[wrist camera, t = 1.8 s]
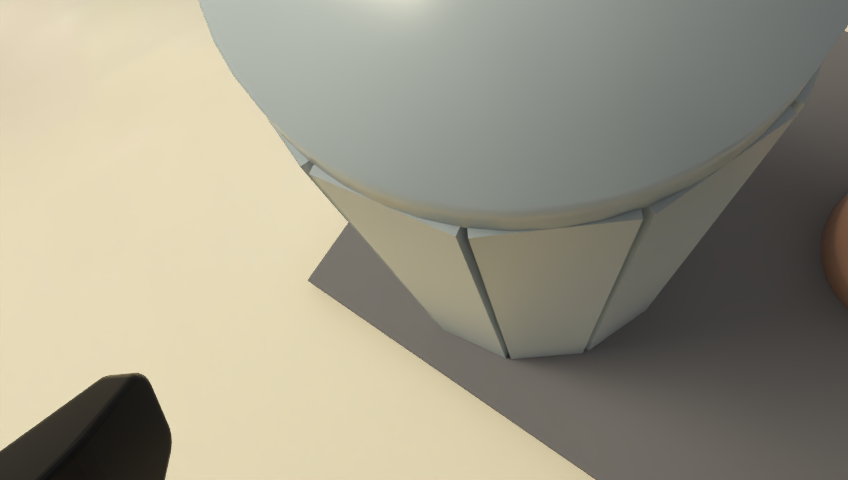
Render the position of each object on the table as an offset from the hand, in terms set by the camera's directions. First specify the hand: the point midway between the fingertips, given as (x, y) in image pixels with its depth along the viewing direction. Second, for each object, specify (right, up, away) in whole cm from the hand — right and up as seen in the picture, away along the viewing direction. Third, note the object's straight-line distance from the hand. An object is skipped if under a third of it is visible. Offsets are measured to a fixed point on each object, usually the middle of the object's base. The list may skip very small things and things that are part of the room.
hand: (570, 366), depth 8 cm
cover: (+1, +2, +12) cm, 12 cm away
